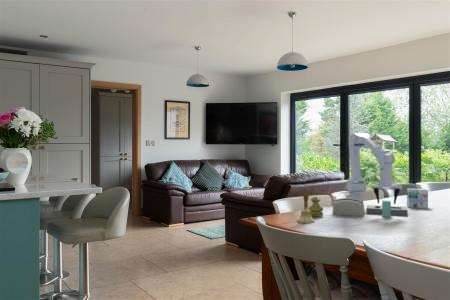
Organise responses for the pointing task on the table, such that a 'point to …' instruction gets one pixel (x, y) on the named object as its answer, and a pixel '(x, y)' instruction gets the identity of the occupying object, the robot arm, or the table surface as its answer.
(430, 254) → the table surface
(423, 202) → the light bulb box
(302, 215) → the hand bell
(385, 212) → the square peg
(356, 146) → the robot arm
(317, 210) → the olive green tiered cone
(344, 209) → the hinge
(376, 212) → the bore plate
